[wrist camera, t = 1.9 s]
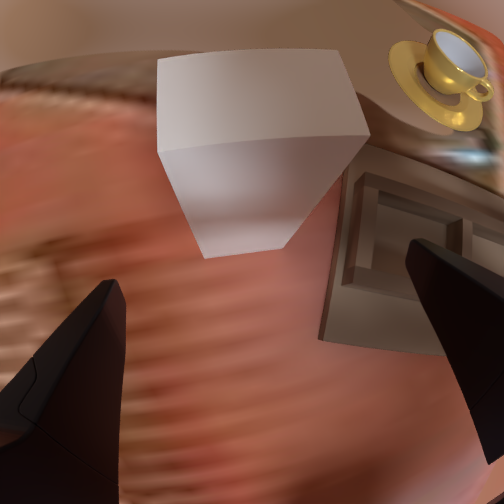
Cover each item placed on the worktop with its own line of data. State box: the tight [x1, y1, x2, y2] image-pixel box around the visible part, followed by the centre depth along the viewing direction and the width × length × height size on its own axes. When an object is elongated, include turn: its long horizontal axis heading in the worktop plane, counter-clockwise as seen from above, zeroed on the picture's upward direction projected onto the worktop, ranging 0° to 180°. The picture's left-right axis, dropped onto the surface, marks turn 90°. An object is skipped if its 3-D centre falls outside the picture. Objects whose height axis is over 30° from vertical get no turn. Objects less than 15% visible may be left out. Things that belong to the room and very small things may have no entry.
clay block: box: [157, 48, 371, 258], centre depth 14 cm, size 3×5×14 cm, turn 98°
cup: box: [388, 29, 494, 131], centre depth 23 cm, size 12×12×5 cm
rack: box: [318, 143, 504, 356], centre depth 20 cm, size 14×18×3 cm
